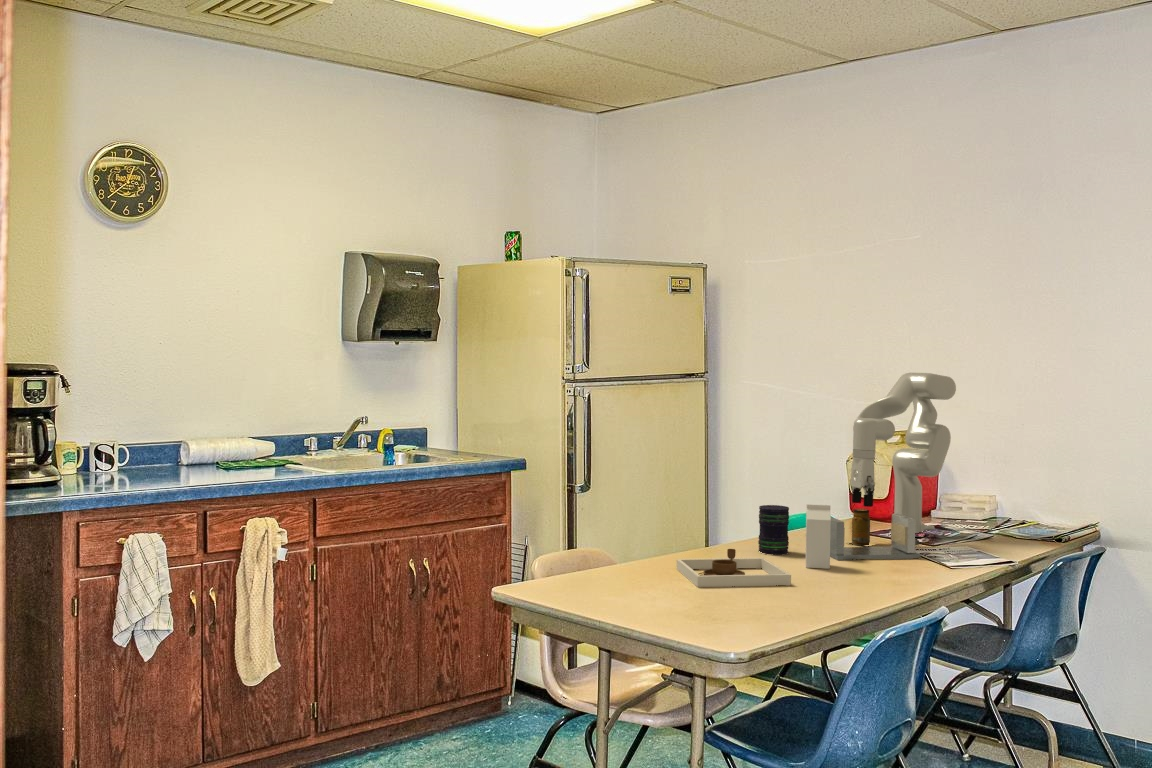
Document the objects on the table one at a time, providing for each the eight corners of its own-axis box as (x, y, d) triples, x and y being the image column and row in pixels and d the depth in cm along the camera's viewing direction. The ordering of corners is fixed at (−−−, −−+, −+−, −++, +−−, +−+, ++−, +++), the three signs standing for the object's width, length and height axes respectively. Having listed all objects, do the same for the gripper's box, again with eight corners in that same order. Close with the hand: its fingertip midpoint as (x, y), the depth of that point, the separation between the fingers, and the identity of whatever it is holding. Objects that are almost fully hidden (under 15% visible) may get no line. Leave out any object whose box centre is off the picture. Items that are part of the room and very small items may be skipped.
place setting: (686, 576, 307) (686, 556, 307) (728, 567, 321) (729, 548, 321) (735, 586, 294) (735, 565, 294) (777, 576, 308) (777, 556, 308)
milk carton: (829, 569, 321) (830, 506, 320) (805, 568, 322) (806, 506, 322) (828, 564, 328) (830, 503, 327) (805, 563, 329) (806, 502, 329)
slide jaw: (909, 545, 352) (910, 513, 352) (926, 552, 341) (927, 519, 340) (889, 546, 351) (890, 513, 351) (905, 552, 340) (906, 519, 339)
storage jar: (794, 554, 345) (795, 508, 345) (768, 556, 342) (769, 509, 341) (777, 548, 354) (778, 504, 354) (752, 550, 351) (753, 505, 350)
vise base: (901, 550, 353) (901, 515, 353) (920, 558, 339) (921, 521, 339) (821, 552, 349) (821, 515, 349) (837, 560, 335) (837, 522, 335)
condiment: (858, 541, 370) (859, 507, 370) (879, 545, 364) (880, 510, 364) (845, 543, 366) (846, 509, 366) (866, 547, 359) (867, 512, 359)
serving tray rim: (763, 567, 322) (763, 557, 322) (791, 585, 297) (791, 574, 297) (676, 569, 318) (676, 559, 318) (697, 587, 294) (697, 576, 294)
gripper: (843, 452, 372) (842, 501, 372) (863, 456, 355) (862, 507, 355) (864, 453, 373) (862, 501, 373) (885, 457, 356) (883, 508, 356)
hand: (862, 504), depth 364 cm, fingers open, 9 cm apart
